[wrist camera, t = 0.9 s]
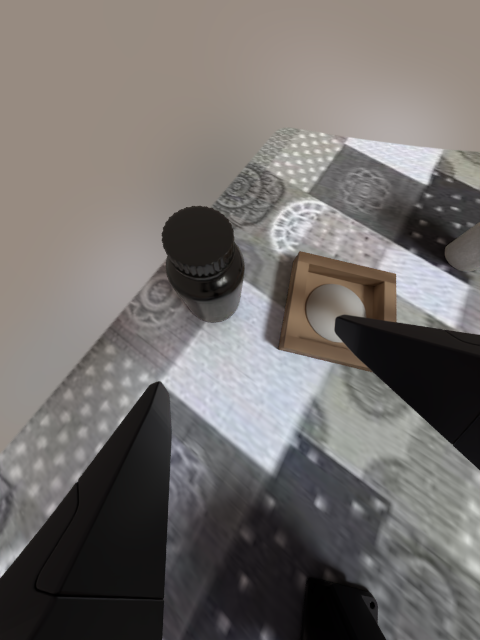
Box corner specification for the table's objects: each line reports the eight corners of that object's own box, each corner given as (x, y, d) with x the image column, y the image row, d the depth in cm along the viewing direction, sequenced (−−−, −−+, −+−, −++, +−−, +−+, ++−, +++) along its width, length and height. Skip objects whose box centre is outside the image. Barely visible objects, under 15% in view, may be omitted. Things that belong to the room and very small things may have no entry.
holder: (378, 373, 21) (396, 374, 19) (278, 349, 21) (283, 347, 19) (380, 282, 25) (396, 273, 22) (293, 261, 25) (299, 251, 23)
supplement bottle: (177, 297, 23) (121, 227, 11) (216, 267, 24) (203, 176, 12) (212, 335, 22) (190, 301, 10) (250, 301, 23) (270, 237, 11)
